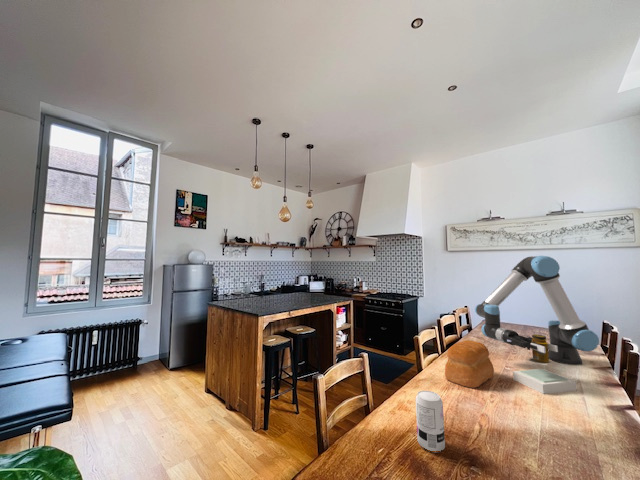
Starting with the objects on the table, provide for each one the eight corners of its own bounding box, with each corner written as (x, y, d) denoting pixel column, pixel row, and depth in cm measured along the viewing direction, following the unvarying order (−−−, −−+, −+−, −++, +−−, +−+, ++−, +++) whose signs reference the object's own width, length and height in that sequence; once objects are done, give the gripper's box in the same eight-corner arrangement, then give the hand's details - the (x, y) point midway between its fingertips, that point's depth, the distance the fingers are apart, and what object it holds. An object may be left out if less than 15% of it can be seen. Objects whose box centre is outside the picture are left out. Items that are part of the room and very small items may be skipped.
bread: (442, 379, 132) (440, 344, 134) (465, 367, 148) (463, 335, 150) (475, 391, 120) (472, 352, 122) (497, 376, 136) (494, 341, 138)
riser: (543, 376, 134) (542, 367, 135) (576, 390, 120) (575, 379, 120) (513, 379, 131) (512, 370, 132) (543, 394, 116) (542, 383, 117)
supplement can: (413, 437, 88) (411, 390, 90) (436, 435, 89) (434, 389, 90) (424, 454, 80) (422, 402, 82) (450, 452, 81) (447, 401, 82)
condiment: (553, 362, 125) (550, 336, 126) (545, 365, 121) (543, 338, 122) (534, 357, 132) (532, 333, 133) (526, 360, 127) (524, 335, 128)
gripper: (523, 342, 146) (568, 356, 123) (493, 344, 143) (534, 359, 120) (521, 328, 147) (566, 339, 124) (492, 330, 144) (532, 342, 121)
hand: (550, 349), depth 122 cm, fingers closed on condiment, 6 cm apart
